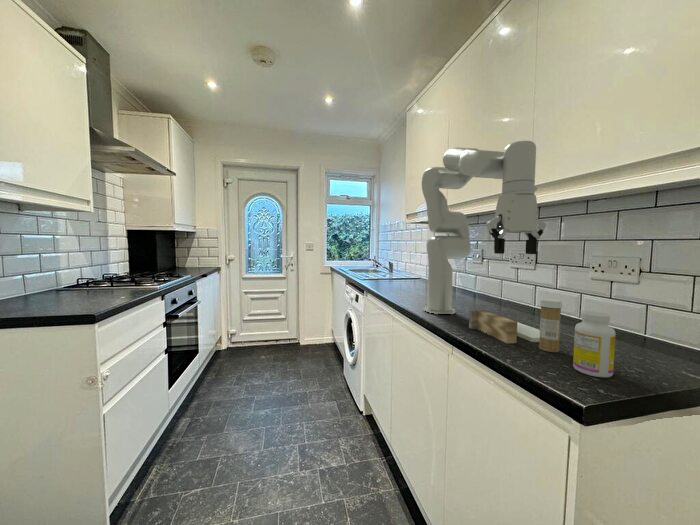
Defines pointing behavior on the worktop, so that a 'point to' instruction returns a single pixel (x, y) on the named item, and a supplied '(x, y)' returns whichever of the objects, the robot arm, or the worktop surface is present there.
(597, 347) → the supplement bottle
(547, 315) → the sprinkles bottle
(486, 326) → the light brown wooden block
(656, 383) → the worktop surface
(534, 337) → the board
